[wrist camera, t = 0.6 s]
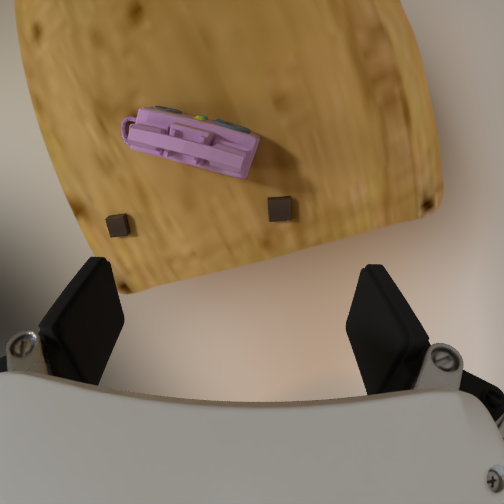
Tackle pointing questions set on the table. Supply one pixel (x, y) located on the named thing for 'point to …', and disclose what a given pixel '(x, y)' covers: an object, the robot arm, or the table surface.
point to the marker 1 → (118, 225)
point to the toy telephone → (192, 140)
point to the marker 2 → (280, 208)
